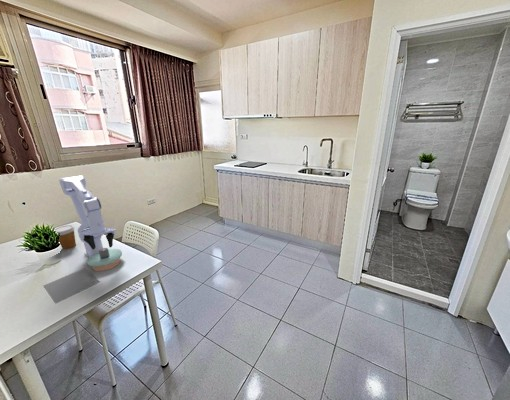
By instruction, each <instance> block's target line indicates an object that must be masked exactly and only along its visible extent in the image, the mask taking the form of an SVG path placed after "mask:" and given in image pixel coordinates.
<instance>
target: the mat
mask: <svg viewBox="0 0 510 400" xmlns="http://www.w3.org/2000/svg"><path fill="white" fill-rule="evenodd" d="M98 283H101V281H100V280H99V279H98V278H96V276H95V275H94V274H92V273H91V271H89V270H88V269H87V268H86V267H84V268H81V269H79V270H77V271H74V272H72V273H69V274H67V275H64V276H63V277H60V278H58V279H56V280H54V281H51V282H47V283H46V284H44V285H43V287H44V288H45V291H46V292H47V293H48V295H49V296H50V297H51V299H52V300H53V302H54V303H55V304H58V303H60V302H62V301H64V300H66V299H69V298H70V297H72V296H74V295H76V294H79V293H80V292H82V291H84V290H87V289H88V288H91V287H93V286H95V285H96V284H98Z"/></svg>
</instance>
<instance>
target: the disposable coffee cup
mask: <svg viewBox="0 0 510 400" xmlns="http://www.w3.org/2000/svg"><path fill="white" fill-rule="evenodd" d="M54 230H55V231H56V232H57V233H60V237H59V241H58V243H59V242H60V243H59V245H60V247H61V248H62V249H63V250H70V249H73V248H74V247H77V243H76V235H75V227H74V226H73V225H71V224H70V225H69V224H67V225H66V224H65V225H62V226H61V225H60V226H58V227H56V228H55V229H54Z"/></svg>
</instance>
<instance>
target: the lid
mask: <svg viewBox="0 0 510 400" xmlns="http://www.w3.org/2000/svg"><path fill="white" fill-rule="evenodd" d="M122 256H123V252H122V250H121V249H117V248H110V249H109V248H108V247H103V248H102V249H100V250H99V252H98V253H96V254H94V255H92V256H91V257H89V258H88V259H87V260H86V263H87V265H88V266H89V267H92V266H93V267H97V266H104V265H107V264H110V263H112V262H114V261H116V260H118V259H119V258H120V259H121V257H122Z"/></svg>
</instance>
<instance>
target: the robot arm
mask: <svg viewBox="0 0 510 400" xmlns="http://www.w3.org/2000/svg"><path fill="white" fill-rule="evenodd" d="M86 181H87V180H86V179H85V177H84V176H83V175H81V174H80V175H77V176H76V175H74V176H69V177H60V178H59V181H58V182H59V185H60V187H61V190H62V192H63V193H64V195H66V196H69V197H70V199H71V200H72V203H73V206H74V208H75V211H76V213H77V215H78V218H79V220H80V223H81V224H80V225H79V226H78V228H77V233H78V237H79V240H80V241H81V242H82V243H83V245H84V249H85V252H84V255H86V256H87V257H89V258H90V257H91V256H92V255H94V254H96V253H98V252H99V250H100V249H102V248H104V245H103V242H102V237H103V235H106V236H105V238H106V240H107V242H108V243H107V244H108V247H109V248H112V247H113V244H114V243H113V241H114V236H115V235H116V233H117V229H116V228H106V227H105V223H104V220H103V219H104V218H103V215H102V211H101V209H102V203H101V201H100V199H99V197H96V196H95V195H93V193H91V191H90V190H88V189H86V188H87V187H86V185H87V182H86Z"/></svg>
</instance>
